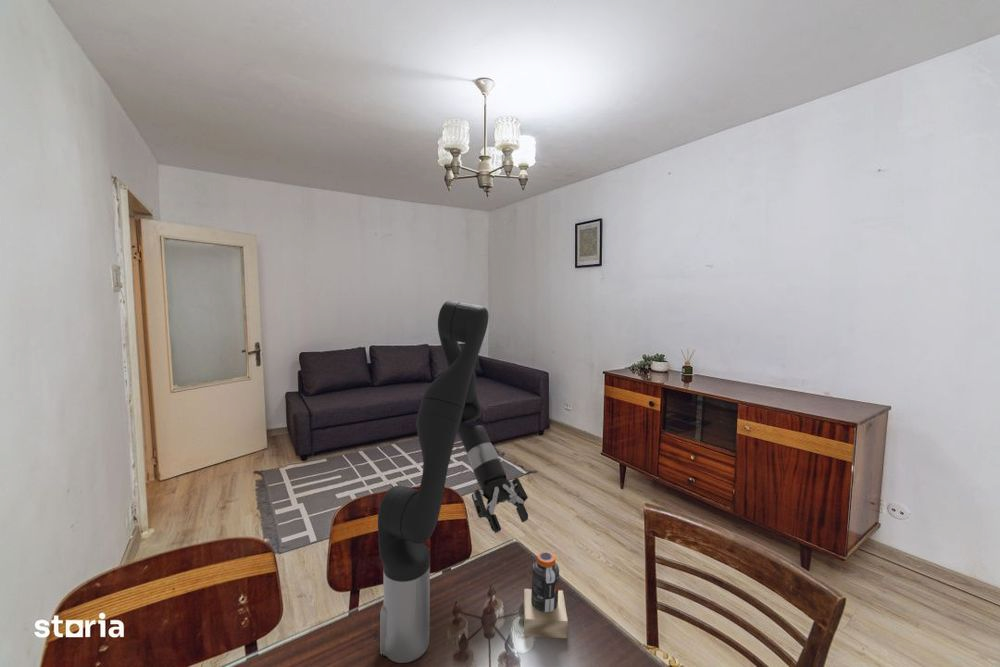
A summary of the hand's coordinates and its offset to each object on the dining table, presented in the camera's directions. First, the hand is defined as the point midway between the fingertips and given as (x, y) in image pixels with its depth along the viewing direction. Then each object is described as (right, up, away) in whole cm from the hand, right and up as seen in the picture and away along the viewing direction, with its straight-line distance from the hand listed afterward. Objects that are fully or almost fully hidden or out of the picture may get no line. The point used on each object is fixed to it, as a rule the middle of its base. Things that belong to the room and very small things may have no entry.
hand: (512, 526), depth 101 cm
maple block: (+7, -18, -8) cm, 20 cm away
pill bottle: (+7, -14, -8) cm, 17 cm away
